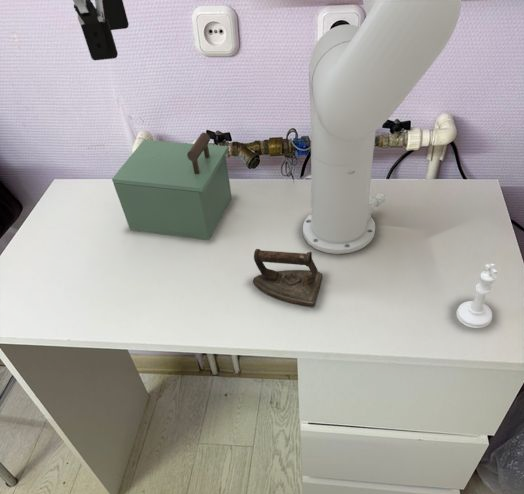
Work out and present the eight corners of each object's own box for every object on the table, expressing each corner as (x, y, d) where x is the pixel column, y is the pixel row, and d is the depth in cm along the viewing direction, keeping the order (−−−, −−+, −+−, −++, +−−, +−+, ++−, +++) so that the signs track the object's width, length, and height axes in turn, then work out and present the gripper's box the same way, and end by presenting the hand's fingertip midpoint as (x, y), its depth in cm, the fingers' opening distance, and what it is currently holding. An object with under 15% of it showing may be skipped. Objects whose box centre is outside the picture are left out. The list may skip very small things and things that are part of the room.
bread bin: (232, 198, 97) (224, 150, 89) (209, 240, 89) (198, 192, 81) (158, 190, 101) (144, 143, 93) (130, 230, 93) (113, 183, 85)
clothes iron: (319, 310, 77) (301, 265, 69) (253, 311, 82) (230, 270, 74) (327, 276, 80) (311, 230, 73) (263, 279, 85) (242, 236, 78)
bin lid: (228, 150, 89) (224, 123, 85) (203, 192, 81) (197, 164, 77) (144, 143, 93) (137, 117, 89) (113, 183, 85) (103, 156, 81)
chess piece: (472, 333, 71) (491, 282, 63) (449, 311, 74) (464, 260, 66) (499, 319, 72) (521, 268, 64) (475, 299, 75) (493, 247, 67)
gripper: (76, -133, 45) (131, 68, 58) (107, -159, 56) (147, 15, 69) (-4, -123, 45) (69, 74, 59) (42, -151, 56) (95, 21, 69)
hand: (111, 42), depth 64 cm, fingers open, 9 cm apart
